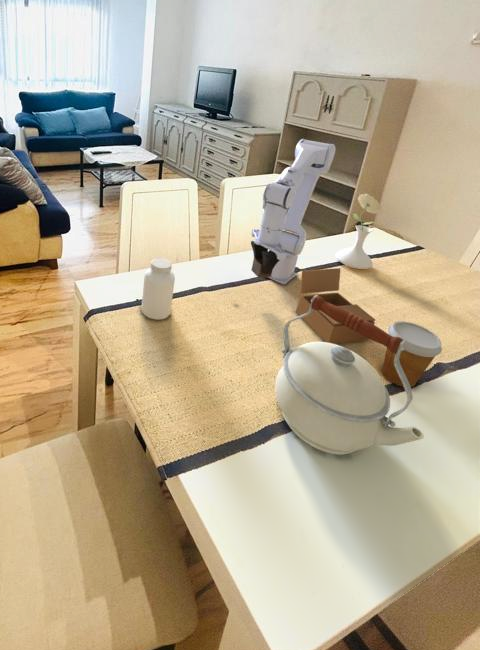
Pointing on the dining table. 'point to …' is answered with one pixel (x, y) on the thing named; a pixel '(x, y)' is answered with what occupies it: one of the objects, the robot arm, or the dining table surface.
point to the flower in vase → (360, 237)
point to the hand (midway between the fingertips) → (262, 269)
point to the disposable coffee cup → (411, 352)
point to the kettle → (340, 390)
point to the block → (259, 268)
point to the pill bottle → (158, 289)
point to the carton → (328, 326)
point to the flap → (320, 280)
